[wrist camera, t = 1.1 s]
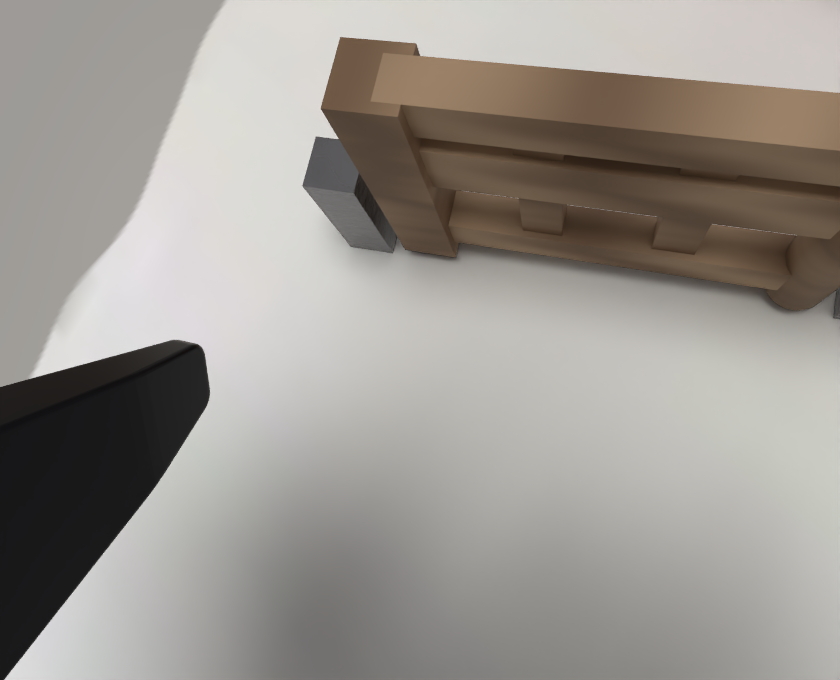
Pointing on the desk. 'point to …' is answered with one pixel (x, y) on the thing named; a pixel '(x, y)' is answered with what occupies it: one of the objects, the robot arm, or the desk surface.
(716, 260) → the walnut gate
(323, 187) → the dark grey square post
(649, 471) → the desk surface
